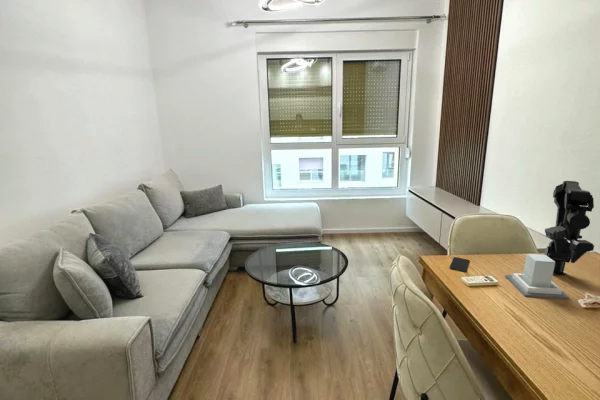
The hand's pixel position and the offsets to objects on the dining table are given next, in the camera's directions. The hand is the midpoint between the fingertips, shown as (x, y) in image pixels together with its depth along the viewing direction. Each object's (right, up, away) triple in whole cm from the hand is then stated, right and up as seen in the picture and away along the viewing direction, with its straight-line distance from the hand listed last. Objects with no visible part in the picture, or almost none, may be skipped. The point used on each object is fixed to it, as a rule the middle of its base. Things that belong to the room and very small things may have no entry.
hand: (564, 257), depth 129 cm
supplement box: (-10, -12, +3) cm, 16 cm away
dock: (-10, -13, +3) cm, 17 cm away
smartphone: (-31, -8, +24) cm, 40 cm away
